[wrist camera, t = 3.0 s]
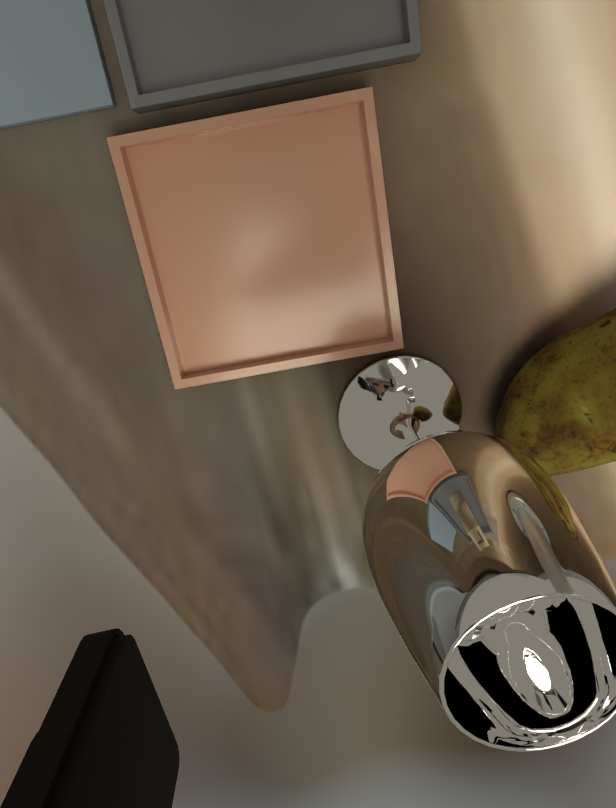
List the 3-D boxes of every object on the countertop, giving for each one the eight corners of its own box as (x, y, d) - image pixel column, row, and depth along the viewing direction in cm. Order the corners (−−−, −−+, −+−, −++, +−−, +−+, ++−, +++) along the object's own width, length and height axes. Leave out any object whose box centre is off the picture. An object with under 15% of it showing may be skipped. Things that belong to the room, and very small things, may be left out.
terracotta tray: (368, 92, 28) (372, 86, 26) (398, 342, 32) (403, 348, 31) (115, 141, 28) (106, 137, 27) (179, 381, 32) (174, 389, 31)
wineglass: (391, 495, 36) (509, 820, 17) (308, 413, 33) (335, 678, 15) (488, 416, 34) (739, 677, 15) (407, 324, 32) (581, 496, 13)
